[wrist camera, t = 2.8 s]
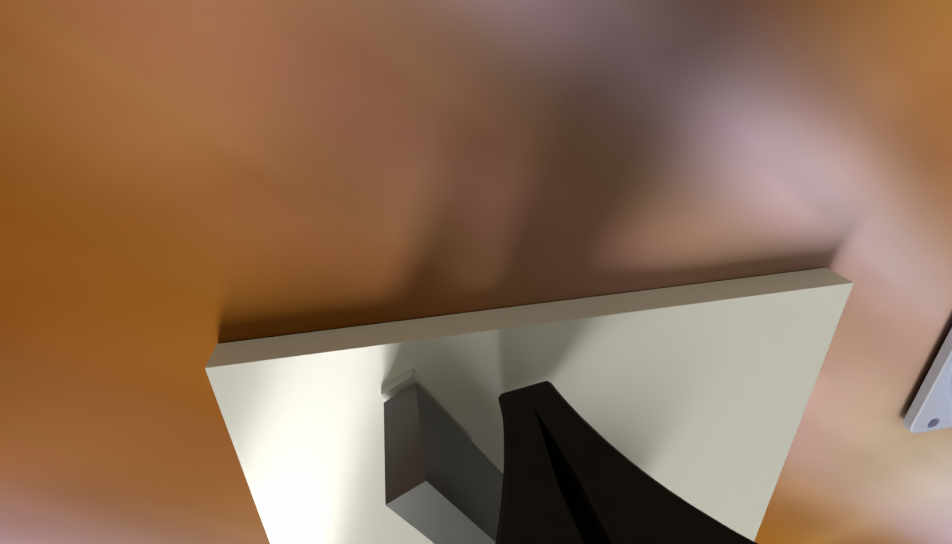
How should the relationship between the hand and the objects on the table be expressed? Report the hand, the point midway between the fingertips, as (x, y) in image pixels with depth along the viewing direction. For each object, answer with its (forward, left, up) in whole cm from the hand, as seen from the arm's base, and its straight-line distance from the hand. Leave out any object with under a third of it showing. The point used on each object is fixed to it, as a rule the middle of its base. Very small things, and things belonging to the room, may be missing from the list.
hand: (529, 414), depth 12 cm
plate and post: (-1, +7, -2) cm, 8 cm away
